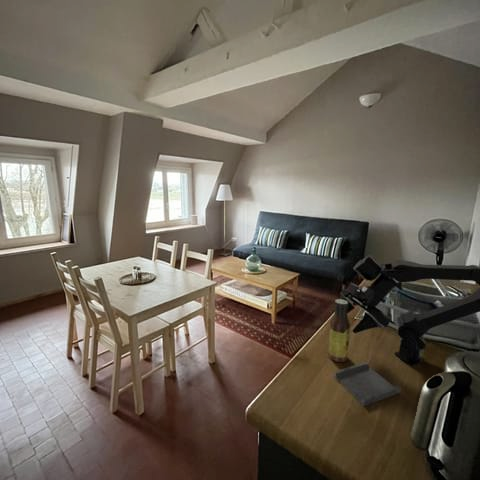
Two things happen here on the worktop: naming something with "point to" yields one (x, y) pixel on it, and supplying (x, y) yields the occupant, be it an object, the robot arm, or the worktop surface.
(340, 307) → the sauce bottle
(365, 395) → the floor track
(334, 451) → the worktop surface
